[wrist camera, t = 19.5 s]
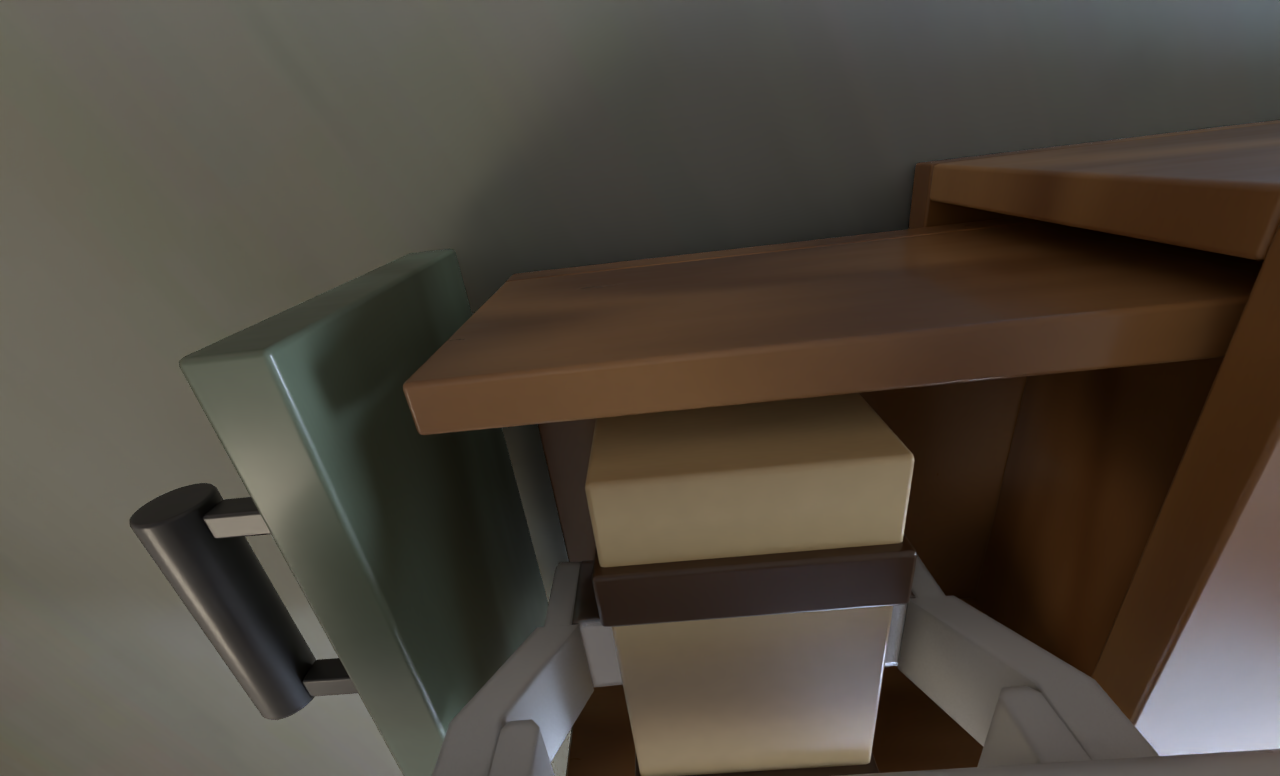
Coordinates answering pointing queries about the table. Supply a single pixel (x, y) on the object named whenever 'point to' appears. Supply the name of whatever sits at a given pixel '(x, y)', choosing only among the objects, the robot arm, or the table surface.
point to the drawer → (678, 380)
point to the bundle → (751, 581)
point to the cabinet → (1222, 438)
